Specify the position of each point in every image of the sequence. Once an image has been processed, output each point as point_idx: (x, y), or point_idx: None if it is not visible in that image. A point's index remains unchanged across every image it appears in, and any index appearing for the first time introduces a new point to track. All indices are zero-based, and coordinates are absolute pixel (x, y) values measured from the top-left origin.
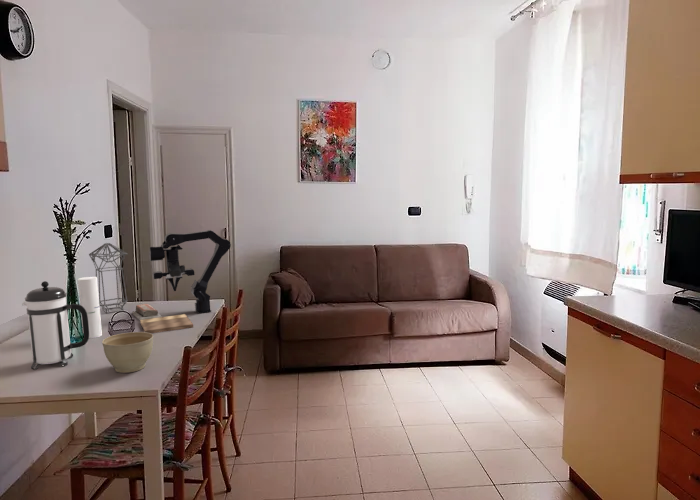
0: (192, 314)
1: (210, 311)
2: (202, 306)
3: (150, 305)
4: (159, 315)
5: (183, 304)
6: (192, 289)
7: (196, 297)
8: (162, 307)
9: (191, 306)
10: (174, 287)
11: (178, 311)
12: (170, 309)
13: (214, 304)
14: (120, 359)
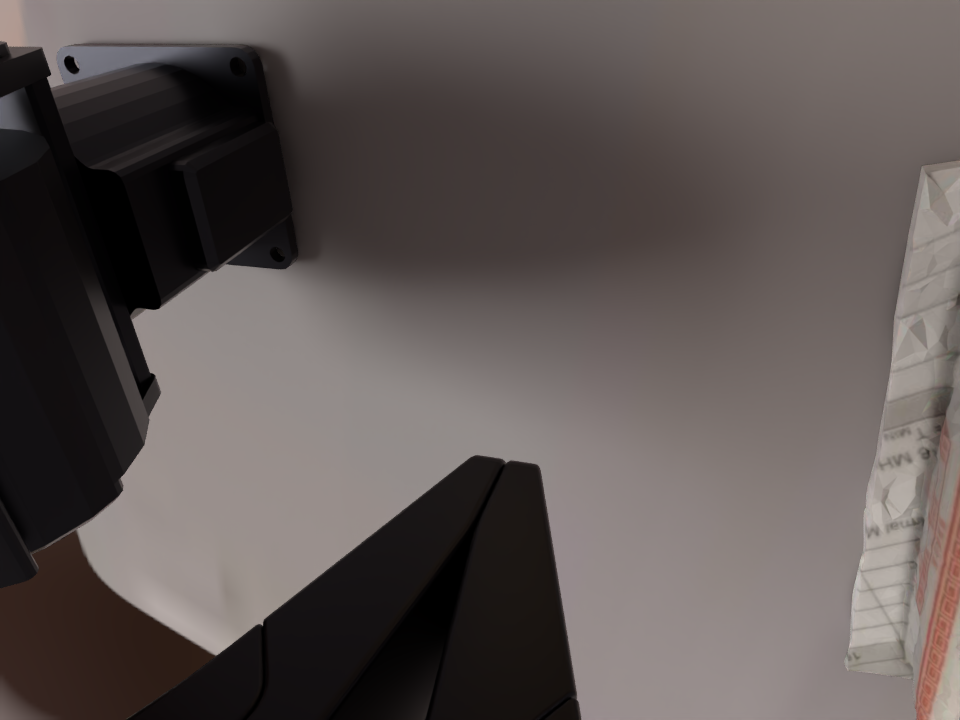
0: (354, 58)
1: (71, 46)
2: (111, 87)
3: (932, 690)
4: (948, 234)
5: None
6: (5, 413)
7: (41, 137)
8: (674, 691)
9: (350, 525)
10: (474, 554)
11: (536, 398)
12: (611, 559)
13: None
14: None
